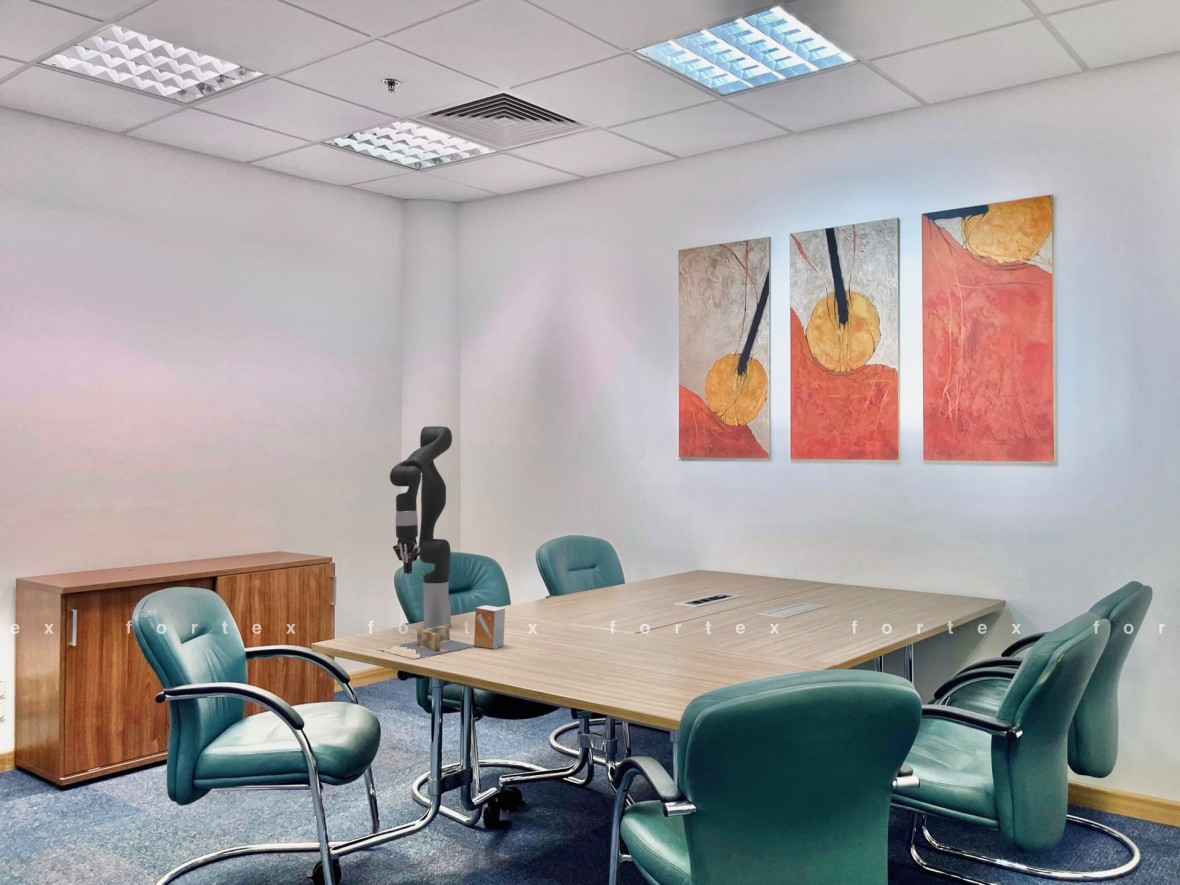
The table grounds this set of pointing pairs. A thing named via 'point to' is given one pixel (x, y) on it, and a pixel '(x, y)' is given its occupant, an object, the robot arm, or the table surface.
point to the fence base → (441, 629)
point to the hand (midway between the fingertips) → (407, 573)
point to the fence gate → (431, 640)
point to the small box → (489, 626)
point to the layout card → (445, 647)
